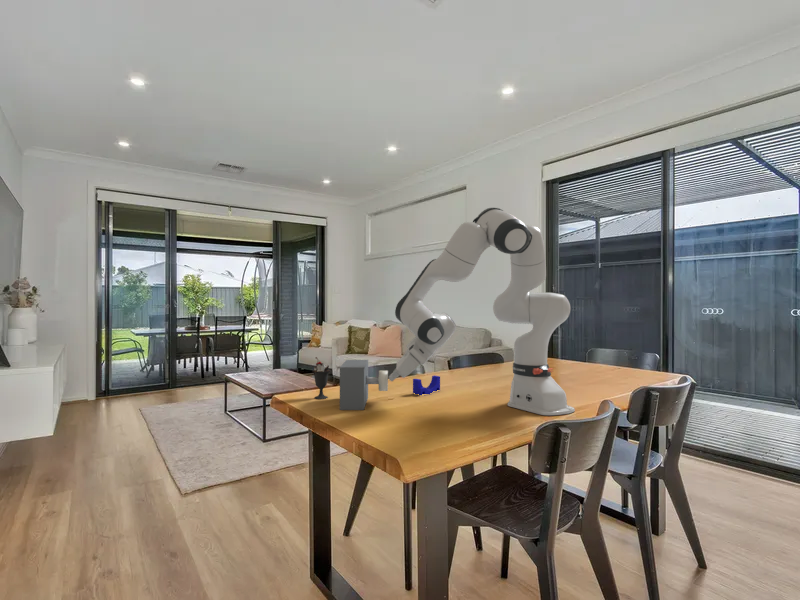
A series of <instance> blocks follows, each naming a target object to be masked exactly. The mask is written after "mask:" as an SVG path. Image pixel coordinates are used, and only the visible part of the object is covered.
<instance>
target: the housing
mask: <svg viewBox="0 0 800 600" xmlns="http://www.w3.org/2000/svg"><path fill="white" fill-rule="evenodd" d="M366 377H369V359H346V360H345V361H344V362H343V363H342V364H341V365H340V366H339V411H364V410H365V408H366V405H367V402H368V399H369V384H366Z"/></svg>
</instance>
